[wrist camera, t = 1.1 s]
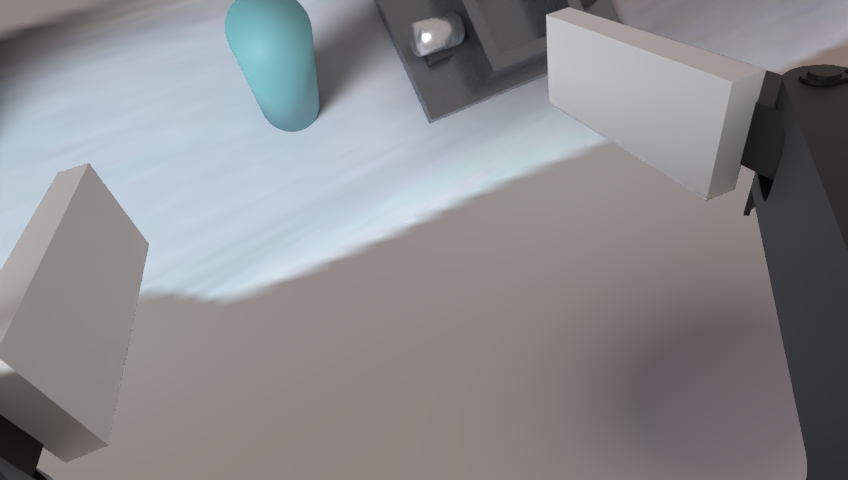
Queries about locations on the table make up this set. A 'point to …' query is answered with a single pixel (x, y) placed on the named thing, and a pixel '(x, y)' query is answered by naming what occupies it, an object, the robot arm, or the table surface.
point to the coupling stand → (473, 46)
